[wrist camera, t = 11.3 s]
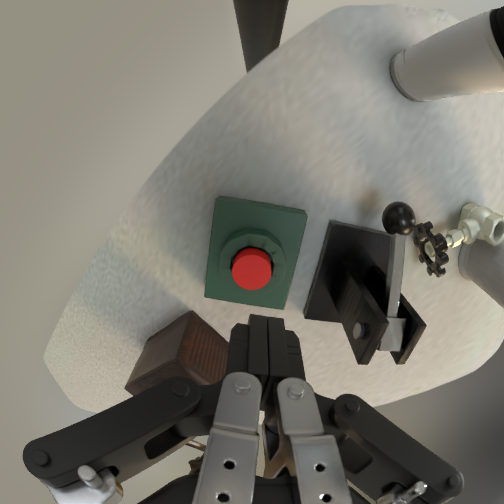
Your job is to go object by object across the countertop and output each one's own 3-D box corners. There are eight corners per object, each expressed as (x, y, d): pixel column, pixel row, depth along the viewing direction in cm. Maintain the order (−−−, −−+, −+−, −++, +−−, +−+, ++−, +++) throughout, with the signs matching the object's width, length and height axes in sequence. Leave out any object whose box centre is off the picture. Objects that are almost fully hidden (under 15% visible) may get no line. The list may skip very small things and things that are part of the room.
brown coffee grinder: (141, 343, 36) (93, 443, 19) (192, 307, 33) (148, 430, 16) (213, 400, 40) (199, 496, 23) (267, 376, 37) (269, 486, 21)
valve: (474, 188, 26) (409, 216, 28) (507, 200, 20) (439, 234, 22) (478, 232, 28) (416, 263, 30) (508, 250, 22) (443, 288, 24)
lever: (376, 203, 23) (393, 193, 20) (403, 210, 24) (421, 202, 20) (360, 343, 22) (376, 351, 19) (388, 345, 22) (406, 352, 19)
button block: (219, 195, 28) (212, 203, 24) (304, 210, 28) (311, 220, 24) (207, 287, 32) (201, 306, 28) (282, 299, 32) (285, 319, 29)
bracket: (329, 220, 28) (374, 272, 17) (398, 235, 29) (461, 287, 17) (303, 313, 33) (320, 393, 21) (366, 320, 33) (401, 391, 21)
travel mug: (379, 53, 21) (501, -14, 2) (423, 52, 20) (544, 13, 2) (397, 104, 23) (544, 87, 5) (439, 100, 22) (574, 95, 4)
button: (236, 244, 26) (235, 251, 24) (274, 251, 26) (275, 258, 24) (231, 278, 27) (229, 286, 26) (266, 284, 27) (267, 292, 26)
